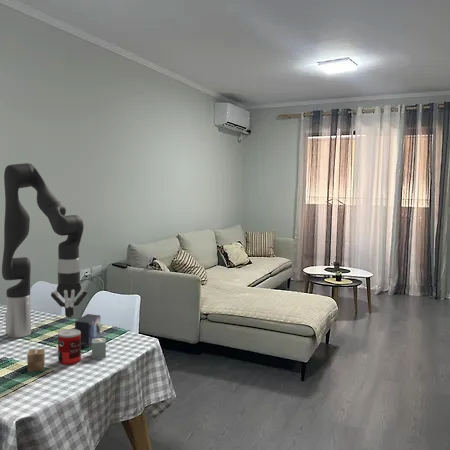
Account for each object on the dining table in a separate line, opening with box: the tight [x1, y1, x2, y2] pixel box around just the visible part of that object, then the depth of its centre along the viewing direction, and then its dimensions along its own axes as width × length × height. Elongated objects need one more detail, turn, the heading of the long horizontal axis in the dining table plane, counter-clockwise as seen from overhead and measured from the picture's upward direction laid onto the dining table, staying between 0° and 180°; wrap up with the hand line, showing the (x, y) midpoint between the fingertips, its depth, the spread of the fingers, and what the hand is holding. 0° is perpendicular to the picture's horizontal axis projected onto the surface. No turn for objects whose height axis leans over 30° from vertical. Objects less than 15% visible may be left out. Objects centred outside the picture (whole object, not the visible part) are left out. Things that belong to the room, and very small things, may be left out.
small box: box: [74, 313, 101, 348], centre depth 184 cm, size 11×6×10 cm, turn 168°
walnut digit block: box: [26, 348, 45, 373], centre depth 159 cm, size 5×5×6 cm
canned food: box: [57, 328, 82, 366], centre depth 165 cm, size 8×8×11 cm
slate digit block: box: [91, 337, 107, 360], centre depth 171 cm, size 5×5×6 cm
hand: (69, 316), depth 164 cm, fingers closed
